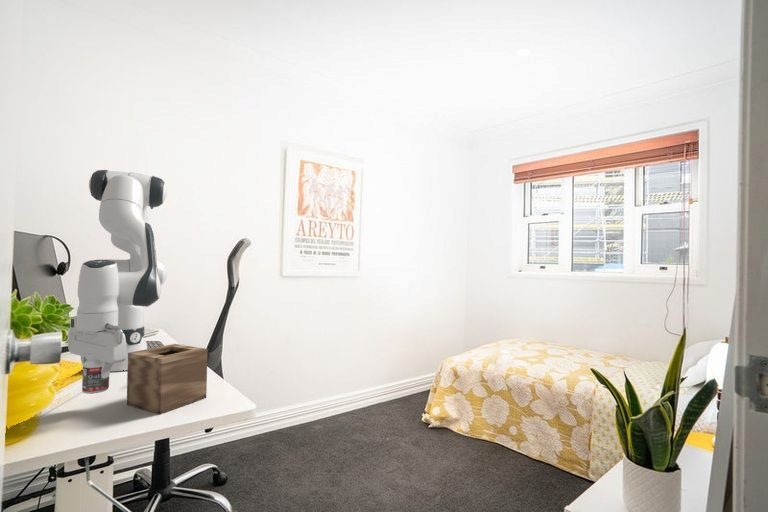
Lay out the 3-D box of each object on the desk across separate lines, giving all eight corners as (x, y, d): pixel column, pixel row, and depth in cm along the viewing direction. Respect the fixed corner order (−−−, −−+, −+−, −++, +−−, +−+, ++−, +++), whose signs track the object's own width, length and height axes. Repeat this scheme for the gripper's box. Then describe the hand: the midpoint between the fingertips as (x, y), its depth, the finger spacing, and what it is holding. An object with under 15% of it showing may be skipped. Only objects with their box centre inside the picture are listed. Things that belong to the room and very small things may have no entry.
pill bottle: (87, 396, 101) (88, 356, 101) (78, 391, 104) (79, 353, 104) (113, 389, 106) (114, 352, 106) (103, 385, 109) (103, 349, 109)
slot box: (126, 404, 108) (128, 352, 109) (173, 390, 121) (174, 343, 121) (160, 414, 102) (161, 359, 103) (206, 398, 115) (207, 349, 115)
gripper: (134, 324, 103) (132, 378, 103) (89, 316, 112) (87, 366, 112) (108, 328, 97) (106, 385, 97) (63, 319, 106) (61, 371, 107)
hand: (96, 375), depth 105 cm, fingers closed on pill bottle, 6 cm apart
